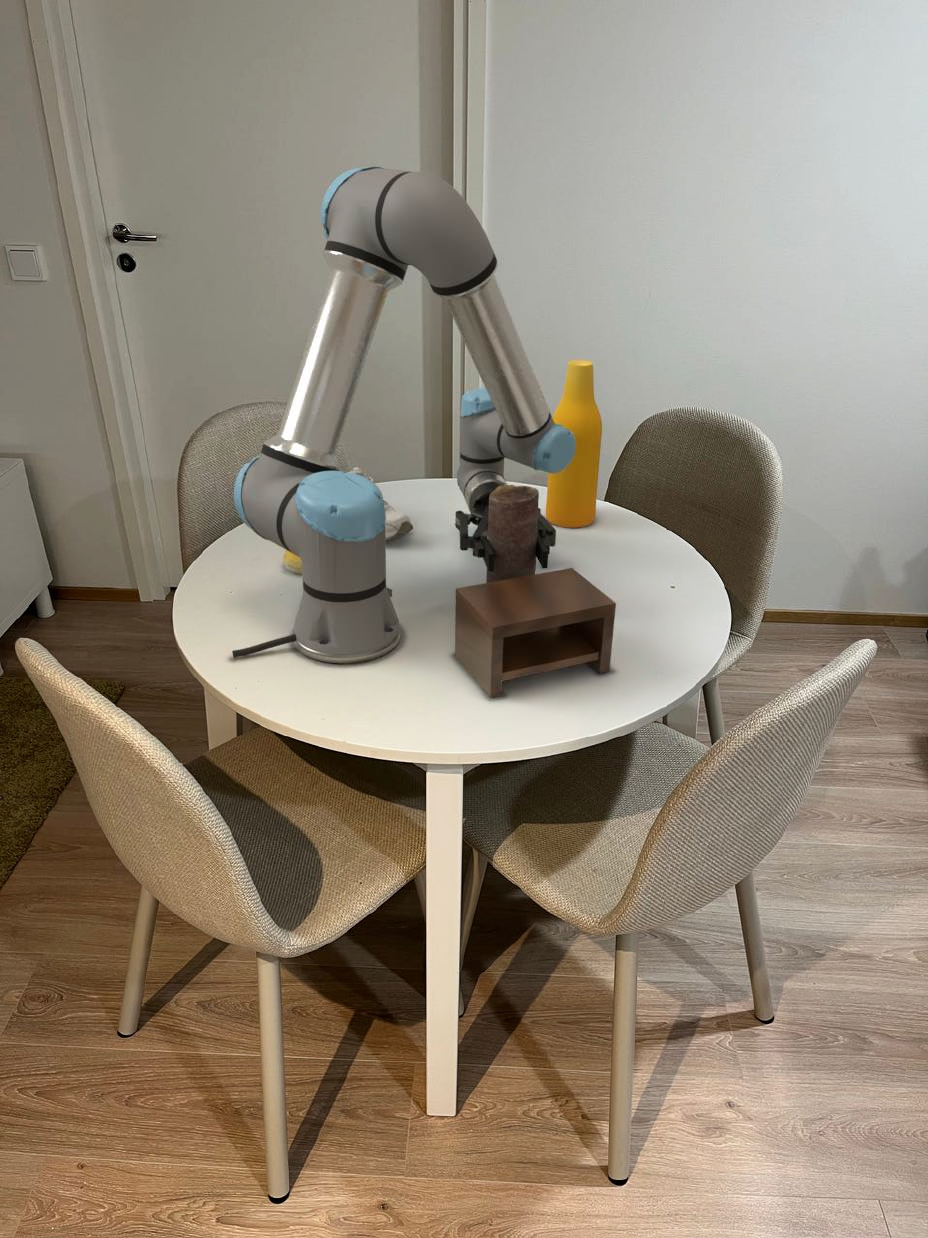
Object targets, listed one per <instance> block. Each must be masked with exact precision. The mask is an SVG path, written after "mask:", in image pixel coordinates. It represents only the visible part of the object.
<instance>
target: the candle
mask: <svg viewBox="0 0 928 1238" xmlns="http://www.w3.org/2000/svg"><path fill="white" fill-rule="evenodd" d="M539 495H540V493H539V489H538V488H536V487H532V486H528V485H518V486H516V485H514V484H507V485H503V486H499V487H497V488H496V489H495V490H494V491H493V492H492V493H491V494H490V497H489V519H488V537H487V538H488V541H489V543H490V545H491V548H492V550H493V553H494V571H488V569H487V568H486V580H485V581H486V582H485V583H489V582H495V581H501V580H506V579H512V578H517V577H523V576H529V575H534V574H536V568H537V557H536V546H537V525H538V508H539V502H540V501H539V499H540V496H539Z"/></svg>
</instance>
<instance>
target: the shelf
mask: <svg viewBox="0 0 928 1238" xmlns="http://www.w3.org/2000/svg"><path fill="white" fill-rule="evenodd" d="M454 603H455V606H454V607H455V611H454V613H455V615H454V622H455V623H454V625H455V626H454V656H455V658H457V660H458V661H459V662H460V663H461V665H462V666H463V667H464V669H465V670H466V671H467V672H468V673H469V674H470V675H471V676H472V678H473V679H474V680H475V682H476V683H478V685H479V686H480V687H481V688H482V689H483V691H484V692H485V693H486V694H487V696H488V697H489V698H490V699H492V698H496V697H501V696H502V685H503V681H507V680H513V679H516V678H521V677H527V676H530V675H534V674H539V673H544V672H548V671H553V670H558V669H563V668H567V667H571V666H576V665H580V664H584V663H588V664H589V665H590V666H591V667H592V668H593V669H594V670H595V671H596V672H597V673H598V674H604V673H607V672H610V670H611V659H612V649H613V640H614V628H615V619H616V607H617V603H616V602H615V600H613V599H611V598H610V597H609V596H608V595H606V594H605V593H604V592H603V591H602V590H601V589H599V588H598V587H597V586H596V585H595V584H594V583H592V582H590V581H589V580H588V579H587V578H586V577H585V576H583V575H582V574H581V573H580V572H578V571H577V570H575V568H573V567H569V568H563V569H556V570H552V571H546V572H540V573H535V574H534V575H529V576H523V577H517V578H512V579H506V580H501V581H495V582H489V583H486V582H485V583H484V582H483V583H477V584H473V585H468V586H462V587H456V588H455V602H454Z"/></svg>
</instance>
